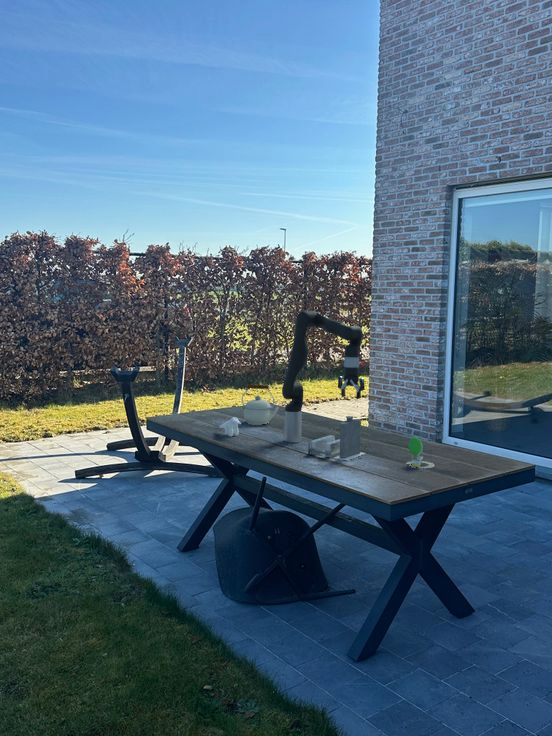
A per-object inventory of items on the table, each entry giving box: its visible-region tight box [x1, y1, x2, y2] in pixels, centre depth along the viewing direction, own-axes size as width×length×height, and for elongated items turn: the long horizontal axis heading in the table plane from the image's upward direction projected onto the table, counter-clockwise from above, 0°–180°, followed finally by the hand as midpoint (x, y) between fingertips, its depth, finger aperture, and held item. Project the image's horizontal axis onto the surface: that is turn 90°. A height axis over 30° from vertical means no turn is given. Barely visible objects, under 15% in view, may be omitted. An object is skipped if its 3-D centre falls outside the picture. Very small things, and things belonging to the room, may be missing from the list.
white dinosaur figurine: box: [218, 416, 242, 438], centre depth 367 cm, size 7×24×11 cm, turn 39°
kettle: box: [241, 384, 280, 426], centre depth 401 cm, size 25×18×25 cm
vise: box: [307, 434, 340, 459], centre depth 326 cm, size 14×19×7 cm
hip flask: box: [339, 415, 362, 458], centre depth 318 cm, size 16×4×20 cm, turn 138°
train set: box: [406, 436, 435, 469], centre depth 303 cm, size 15×14×14 cm
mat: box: [333, 451, 367, 462], centre depth 319 cm, size 8×18×1 cm, turn 142°
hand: (350, 397), depth 316 cm, fingers open, 8 cm apart
